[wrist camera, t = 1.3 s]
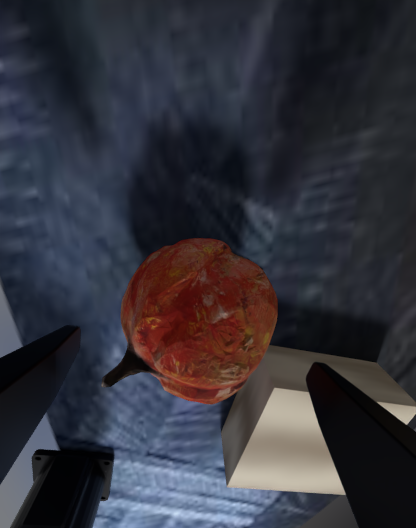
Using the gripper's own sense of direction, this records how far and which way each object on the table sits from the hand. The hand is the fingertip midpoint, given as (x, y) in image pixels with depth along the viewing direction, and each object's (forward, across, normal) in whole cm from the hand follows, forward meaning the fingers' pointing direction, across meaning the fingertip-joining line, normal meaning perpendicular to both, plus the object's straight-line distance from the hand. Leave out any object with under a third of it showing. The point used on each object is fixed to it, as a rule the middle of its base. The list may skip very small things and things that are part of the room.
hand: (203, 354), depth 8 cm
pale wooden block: (+6, -10, +9) cm, 15 cm away
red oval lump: (+6, 0, 0) cm, 6 cm away
